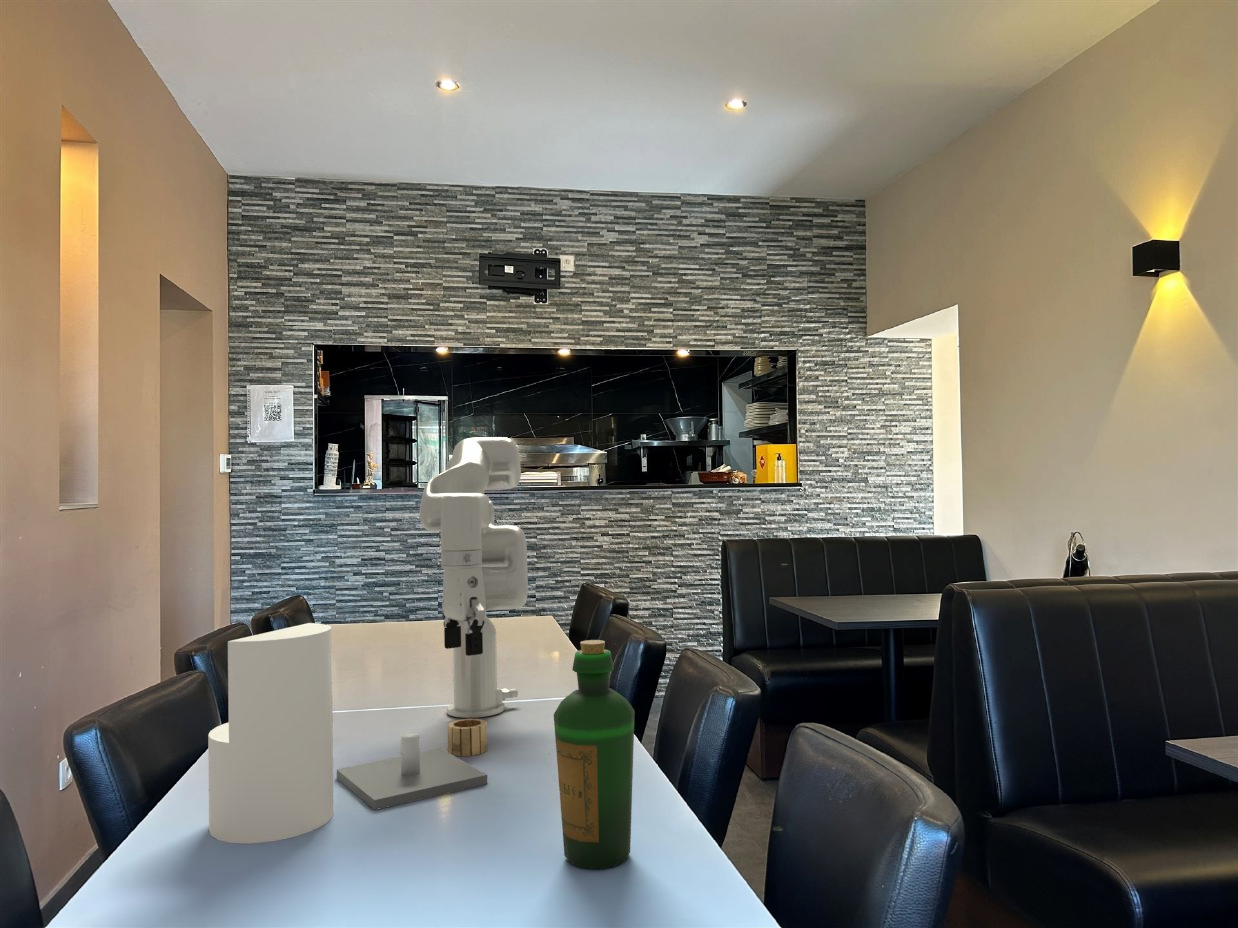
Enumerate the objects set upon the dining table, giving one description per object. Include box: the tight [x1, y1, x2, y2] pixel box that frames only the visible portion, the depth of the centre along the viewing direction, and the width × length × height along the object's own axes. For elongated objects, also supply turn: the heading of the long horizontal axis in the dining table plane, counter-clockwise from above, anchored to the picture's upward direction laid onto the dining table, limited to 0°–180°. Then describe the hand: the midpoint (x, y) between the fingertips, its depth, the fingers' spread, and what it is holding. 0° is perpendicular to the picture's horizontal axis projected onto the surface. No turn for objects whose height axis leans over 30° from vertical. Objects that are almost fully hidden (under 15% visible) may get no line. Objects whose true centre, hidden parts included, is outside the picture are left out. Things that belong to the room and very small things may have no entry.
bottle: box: [553, 639, 636, 870], centre depth 115 cm, size 11×11×28 cm
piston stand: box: [336, 733, 488, 811], centre depth 147 cm, size 19×19×8 cm
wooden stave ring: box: [447, 718, 488, 757], centre depth 164 cm, size 7×7×5 cm
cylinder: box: [207, 622, 335, 845], centre depth 131 cm, size 17×17×28 cm
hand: (463, 651), depth 164 cm, fingers open, 9 cm apart
